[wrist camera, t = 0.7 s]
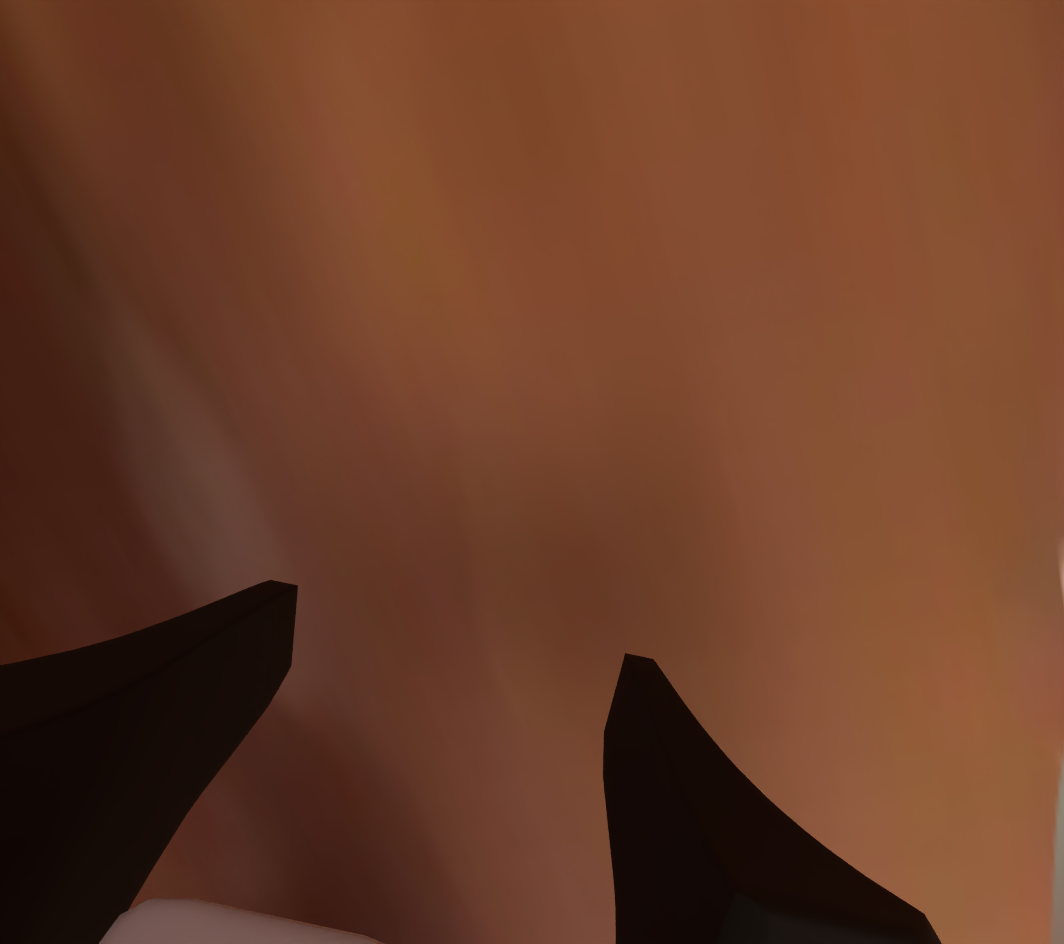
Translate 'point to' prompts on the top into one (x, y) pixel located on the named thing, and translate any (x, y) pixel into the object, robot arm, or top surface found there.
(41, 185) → the top surface
